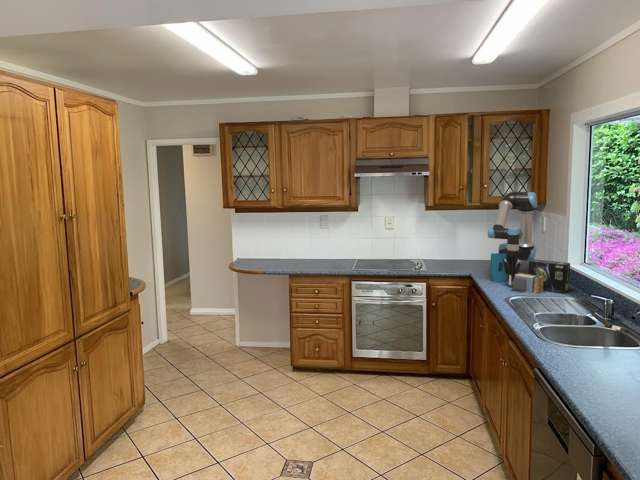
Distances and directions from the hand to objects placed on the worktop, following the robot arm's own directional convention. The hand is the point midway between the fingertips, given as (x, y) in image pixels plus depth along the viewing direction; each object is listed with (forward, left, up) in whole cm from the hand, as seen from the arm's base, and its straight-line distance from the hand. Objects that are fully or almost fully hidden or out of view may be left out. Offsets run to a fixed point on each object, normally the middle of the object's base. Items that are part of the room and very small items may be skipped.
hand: (510, 284), depth 311 cm
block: (-12, -15, -2) cm, 19 cm away
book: (0, +10, -2) cm, 10 cm away
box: (-13, +19, -2) cm, 23 cm away
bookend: (+6, +8, -2) cm, 10 cm away
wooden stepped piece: (0, +10, -2) cm, 10 cm away
